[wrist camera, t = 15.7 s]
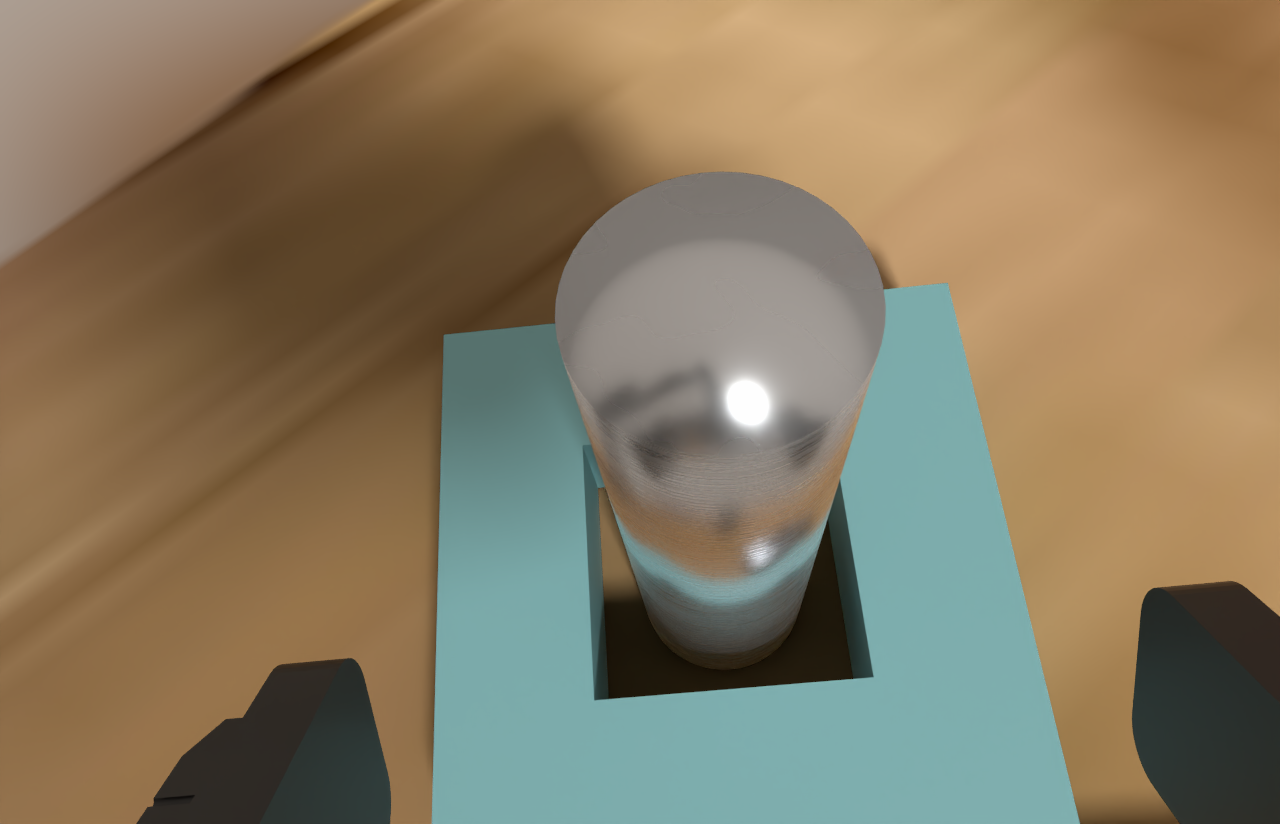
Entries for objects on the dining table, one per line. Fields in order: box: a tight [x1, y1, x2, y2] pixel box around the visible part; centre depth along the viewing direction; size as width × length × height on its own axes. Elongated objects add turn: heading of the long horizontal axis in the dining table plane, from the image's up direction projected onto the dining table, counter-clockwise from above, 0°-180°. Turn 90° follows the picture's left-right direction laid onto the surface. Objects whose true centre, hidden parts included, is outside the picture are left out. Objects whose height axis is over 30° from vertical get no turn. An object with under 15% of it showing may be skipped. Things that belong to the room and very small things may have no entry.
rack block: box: [432, 283, 1080, 824], centre depth 23 cm, size 13×13×3 cm
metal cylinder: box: [555, 172, 886, 670], centre depth 18 cm, size 4×4×14 cm
